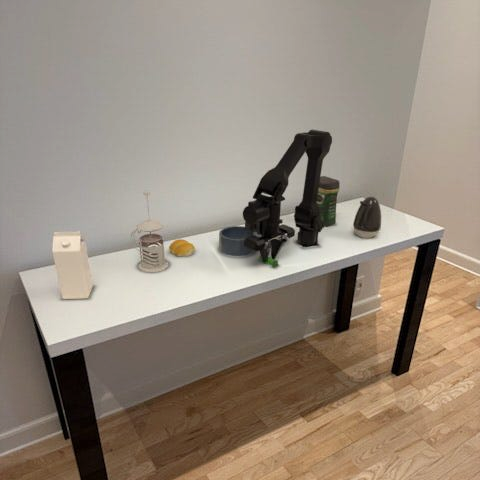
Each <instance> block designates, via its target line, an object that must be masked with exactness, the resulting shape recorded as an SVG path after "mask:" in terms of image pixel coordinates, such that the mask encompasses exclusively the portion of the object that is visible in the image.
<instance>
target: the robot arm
mask: <svg viewBox="0 0 480 480" xmlns="http://www.w3.org/2000/svg"><path fill="white" fill-rule="evenodd" d="M332 143H333V137H332V135H331V132H329V131H324V130H318V129H314V128H313V129H310V130H309V131H308V132H298V133H296V134H295V135H294V137H293V141H292V142H291V143H290V145H289V146H288V148H287V149H286V151H285V153H284V154H283V156H282V157H281V158H280V159H279V161H278V163H277V164H276V165H275V166H274V167H272V168H271V169H268V170H267V171H266V172H265V174H264V175H262V177H261V179H260V181H259V183H258V184H257V187H256V189H255V191H254V194H253V196H252V199H253V200H250V201H248V202H247V206H245V207H244V208H243V211H242V218H243V220H244V227H245V230H246V231H247V232H249V233H252V232H257V234H258V235H261V236H262V237H257V236H254V235H253V236H250V237H247V238H245V239H244V246H245V247H247V248H249V249H251V250H254V252H258V253H259V256H260V255H261V258H262V261H261V262H262V263H263V264H267V263H266V262H267V259H268V257H269V255H270V258H272V259H274V260H276V258H277V256H278V254H279V253H280V251H281V249H282V248H283V247H284V245H285V244H286V243H287V242H288V239H291V238H294V237H295V235H296V230H295V229H294V227H292V226H289V225H287V224H285V223H284V224H283V221H284V220H283V219H281V208H282V207H281V206H282V202H284V201H285V200H286V197H284V196H283V195H284V194H285V192H286V190H287V187H288V186H289V177H291V176H290V175H291V174H292V173H293V171H294V170H295V168H296V166H297V165H298V163H299V162H300V161H301V159H302V158H303V156H304V155H305V154H306V157H307V163H306V170H305V178H304V185H303V190H302V191H303V192H302V199H301V201H300V203H299V204H298V205H296V206H295V208H294V213H293V214H294V215H293V219H294V224H295V228H298V231H297V237H296V240H295V241H296V243H297V244H298V245H300V246H301V247H302V248H311V247H318V246H320V244H319V243H318V240H319V233H321V232H322V230H323V229H324V227H325V226H324V223H323V222H322V221H321V219H320V218H319V216H320V210H319V207H318V205H317V196H318V189H319V183H320V177H321V176H322V169H323V163H324V159H325V157H327V155H328V154H329V153H330V150H331V147H332ZM284 234H285V235H286V236H287V238H288V239H284ZM268 241H270V242H271V246H268Z"/></svg>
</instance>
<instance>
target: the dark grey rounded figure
mask: <svg viewBox="0 0 480 480" xmlns="http://www.w3.org/2000/svg"><path fill="white" fill-rule="evenodd" d="M359 204H360V205H359V207H358V209H357V211H356V214H355V215H354V218H353V223H352V226H353V231H354V233H355V235H357V236H359V237H361V238H363V239H370V238H374V237H376V236H377V235H378V234H379V231H380V230H381V228H382V211H381V210H382V209H381V206H380V202H379V200H378V199H377V198H376V197H374V196H367V197H366V198H364V199H363V200H359Z"/></svg>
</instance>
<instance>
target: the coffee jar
mask: <svg viewBox="0 0 480 480" xmlns="http://www.w3.org/2000/svg"><path fill="white" fill-rule="evenodd" d="M340 187H341V186H340V180H338V179H335V178H333V177H329V176H326V175H321V176H320V183H319V189H318V196H317V205H318V207H319V210H320V216H319V218H320V219H321V221H322V222H323V223H324V226H323V227H330V226H333V225H335V224H336V221H337V220H336V219H337V201H338V194H339V192H340Z"/></svg>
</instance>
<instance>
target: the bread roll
mask: <svg viewBox="0 0 480 480" xmlns="http://www.w3.org/2000/svg"><path fill="white" fill-rule="evenodd" d="M168 250H169V251H170V253H172V255H175V256H176V257H179V258H181V257H184V258H185V257H190V256H191V255H194V254H195V251H196V247H195V245H194V244H193V243H191V242H189V241H188V240H186V239H181V238H180V239H175V240H174V241H173V242H171V243H170V244H169V247H168Z"/></svg>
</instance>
